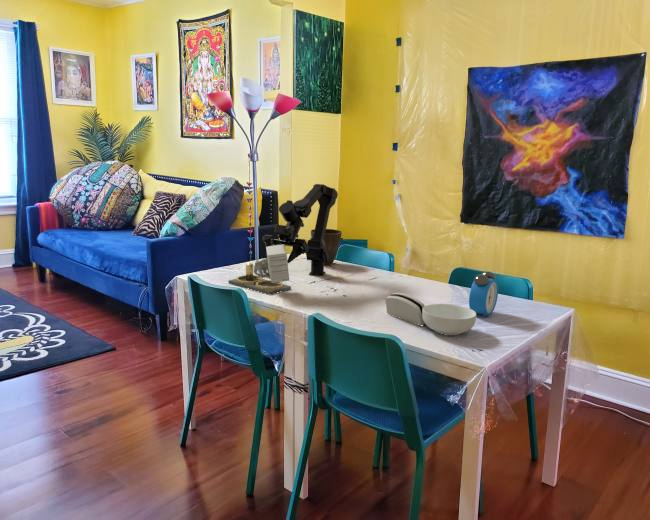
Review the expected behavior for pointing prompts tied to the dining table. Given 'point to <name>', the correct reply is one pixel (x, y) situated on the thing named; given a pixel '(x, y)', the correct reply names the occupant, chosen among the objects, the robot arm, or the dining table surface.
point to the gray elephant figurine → (261, 266)
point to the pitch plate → (258, 282)
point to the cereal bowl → (448, 318)
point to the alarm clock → (483, 294)
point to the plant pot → (331, 243)
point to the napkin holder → (405, 307)
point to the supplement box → (277, 263)
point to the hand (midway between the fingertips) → (277, 261)
